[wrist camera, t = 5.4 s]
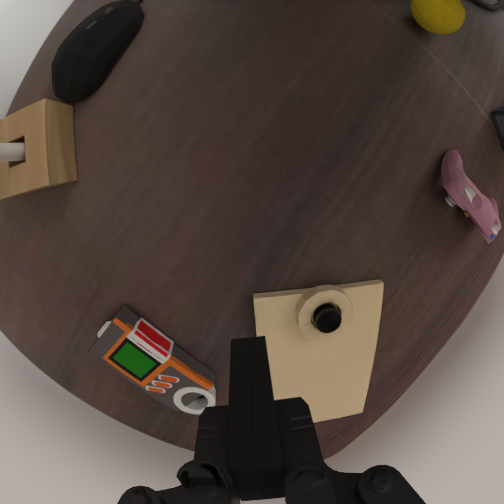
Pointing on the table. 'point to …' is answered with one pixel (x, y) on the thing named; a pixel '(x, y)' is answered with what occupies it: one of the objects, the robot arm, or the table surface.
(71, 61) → the gaming mouse
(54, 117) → the pen stand
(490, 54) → the table surface
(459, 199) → the video game controller
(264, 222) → the table surface
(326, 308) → the button
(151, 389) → the electronic device
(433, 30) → the fruit
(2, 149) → the stylus
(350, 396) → the plate
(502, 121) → the box
